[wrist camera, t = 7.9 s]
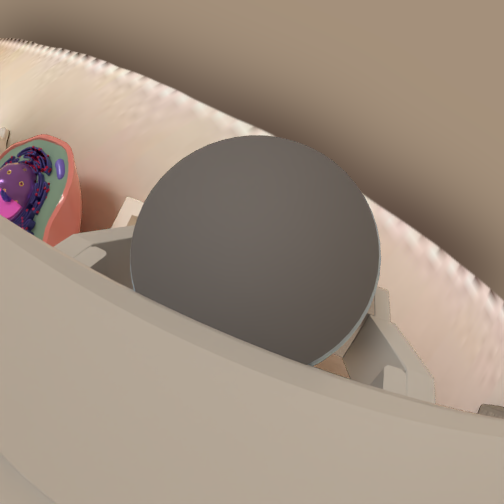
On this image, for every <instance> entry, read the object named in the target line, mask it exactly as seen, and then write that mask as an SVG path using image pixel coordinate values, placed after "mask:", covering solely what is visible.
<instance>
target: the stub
mask: <svg viewBox="0 0 504 504" xmlns="http://www.w3.org/2000/svg"><path fill="white" fill-rule="evenodd" d="M380 264H381V250H380V240H379V234H378V229H377V225H376V222H375V219H374V216H373V213H372V211H371V209H370V207H369V205H368V203H367V201H366V199H365V197H364V196H363V194H362V193H361V191H360V190H359V188H358V187H357V185H356V184H355V182H354V181H353V180H352V179H351V178H350V177H349V176H348V174H347V173H346V172H345V171H344V170H343V169H342V168H341V167H339V166H338V165H337V164H336V163H335V162H334V161H332V160H331V159H329V158H328V157H326V156H325V155H324V154H322V153H320V152H318V151H317V150H314V149H313V148H311V147H309V146H306V145H303V144H301V143H298V142H296V141H292V140H288V139H284V138H280V137H272V136H241V137H234V138H230V139H225V140H221V141H218V142H215V143H212V144H209V145H207V146H205V147H203V148H201V149H199V150H196V151H194V152H193V153H191V154H190V155H188V156H186V157H185V158H183V159H182V160H181V161H179V162H178V163H177V164H176V165H174V166H173V167H172V168H171V169H170V170H169V171H168V172H167V173H166V174H165V175H164V176H163V177H162V178H161V179H160V180H159V181H158V183H157V184H156V185H155V187H154V188H153V189H152V190H151V192H150V194H149V195H148V197H147V199H146V200H145V202H144V204H143V206H142V208H141V211H140V213H139V215H138V218H137V221H136V224H135V228H134V231H133V236H132V243H131V252H130V269H131V278H132V284H133V288H134V291H135V292H137V293H139V294H141V295H143V296H145V297H147V298H149V299H151V300H153V301H155V302H157V303H159V304H161V305H164V306H166V307H168V308H170V309H172V310H174V311H176V312H179V313H181V314H183V315H185V316H187V317H189V318H192V319H194V320H196V321H198V322H201V323H203V324H205V325H207V326H210V327H212V328H214V329H217V330H219V331H221V332H224V333H226V334H228V335H231V336H233V337H236V338H238V339H240V340H243V341H245V342H248V343H250V344H253V345H255V346H258V347H260V348H263V349H265V350H268V351H270V352H273V353H276V354H278V355H281V356H283V357H286V358H289V359H291V360H294V361H297V362H300V363H302V364H305V365H310V366H314V365H316V364H318V363H320V362H322V361H323V360H325V359H326V358H327V357H329V356H330V355H331V354H333V353H334V352H336V351H337V350H338V349H339V348H340V347H341V346H342V345H343V344H344V343H345V342H346V341H347V340H348V339H349V338H350V337H351V336H352V334H353V333H354V332H355V331H356V329H357V328H358V327H359V325H360V324H361V322H362V321H363V319H364V317H365V315H366V314H367V312H368V310H369V308H370V305H371V303H372V300H373V298H374V295H375V293H376V289H377V284H378V280H379V275H380Z"/></svg>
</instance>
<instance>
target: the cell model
mask: <svg viewBox="0 0 504 504" xmlns="http://www.w3.org/2000/svg"><path fill="white" fill-rule="evenodd" d="M0 215H2V216H3V217H5V218H6V219H8V220H10V221H11V222H13V223H14V224H16V225H18V226H19V227H21V228H22V229H24V230H26V231H27V232H29V233H31V234H32V235H34V236H35V237H37V238H39V239H41V240H42V241H44V242H46V243H47V244H49V245H51V246H52V247H54V246H55V245H57V244H58V243H60V242H62V241H63V240H65V239H66V238H68V237H69V236H71V235H73V234H77V233H80V226H81V217H82V196H81V188H80V183H79V177H78V173H77V169H76V165H75V161H74V157H73V153H72V150H71V147H70V146H69V145H68V144H67V143H66V142H64V141H62V140H60V139H58V138H56V137H53V136H50V135H45V134H41V135H37V136H34V137H32V138H29V139H27V140H23V141H20V142H17V143H15V144H13V145H11V146H10V147H9V148H7V149H6V150H5V151H4V152H3V153H2V154H1V155H0Z"/></svg>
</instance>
